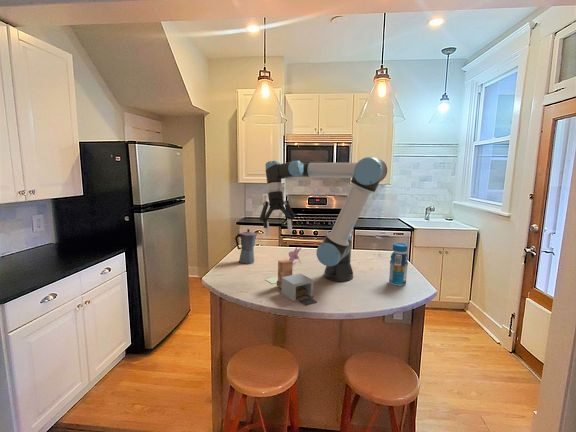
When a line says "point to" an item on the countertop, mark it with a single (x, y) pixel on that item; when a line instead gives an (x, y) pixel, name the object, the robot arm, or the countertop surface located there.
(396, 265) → the beverage bottle
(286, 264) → the wooden pillar on base
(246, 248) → the moka pot
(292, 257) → the lily
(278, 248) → the countertop surface
